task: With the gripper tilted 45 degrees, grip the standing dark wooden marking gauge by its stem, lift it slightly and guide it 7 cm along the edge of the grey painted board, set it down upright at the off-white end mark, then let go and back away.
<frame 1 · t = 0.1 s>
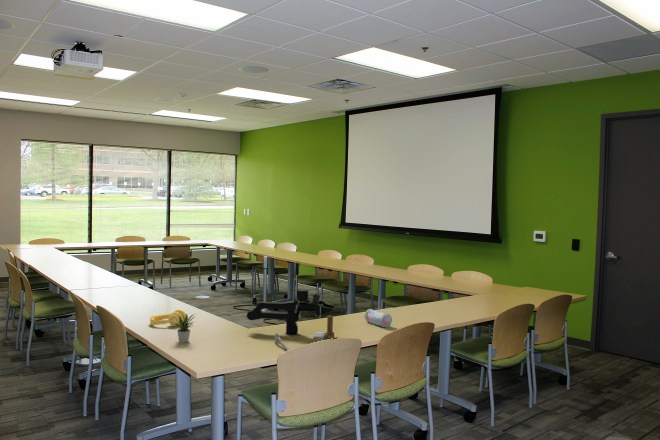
hand: (333, 308, 313), 17 cm above the table, tool horizontal, fingers open, 9 cm apart
headset: (167, 324, 333), on the table
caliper: (282, 348, 284), on the table
house plant: (186, 341, 293), on the table
board: (319, 336, 310), on the table
marking gauge: (329, 338, 307), on the table
pencil case: (378, 325, 344), on the table
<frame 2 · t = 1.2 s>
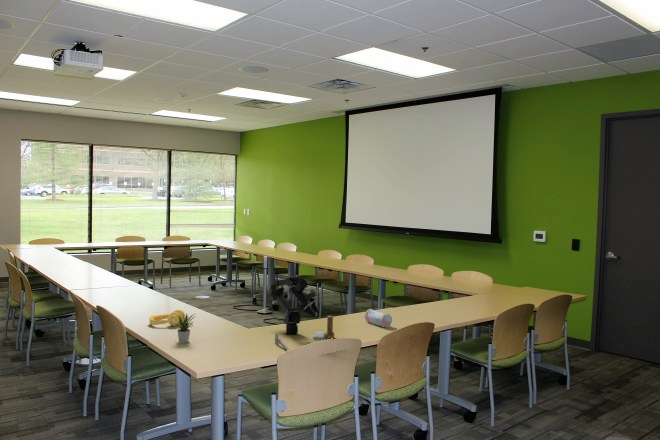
hand: (317, 314, 308), 14 cm above the table, tool tilted 45°, fingers open, 9 cm apart
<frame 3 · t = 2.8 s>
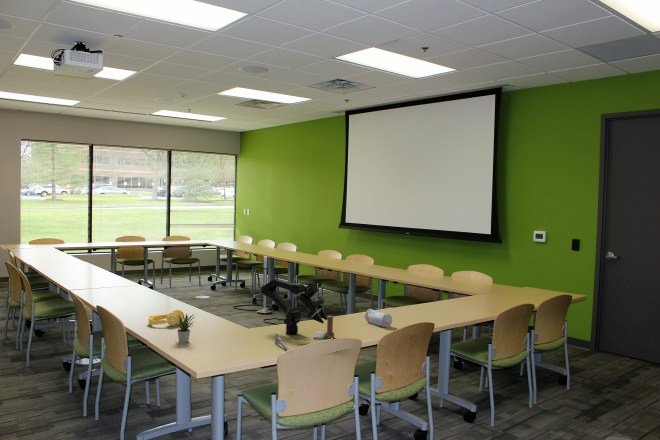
hand: (325, 321, 307), 10 cm above the table, tool tilted 45°, fingers open, 9 cm apart
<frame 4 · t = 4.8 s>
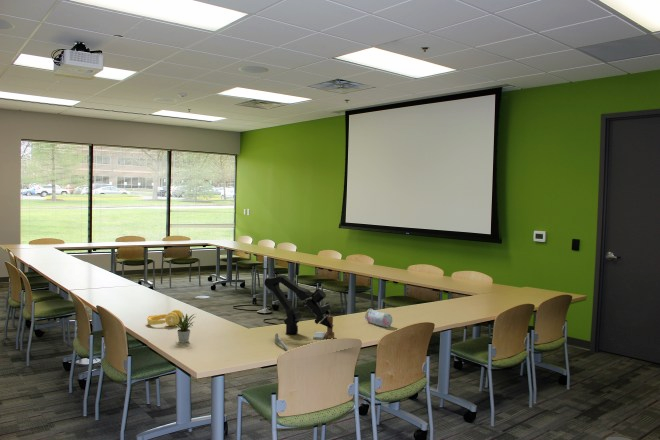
hand: (332, 327, 306), 7 cm above the table, tool tilted 45°, fingers closed on marking gauge, 3 cm apart
marking gauge: (329, 338, 307), on the table, touching gripper
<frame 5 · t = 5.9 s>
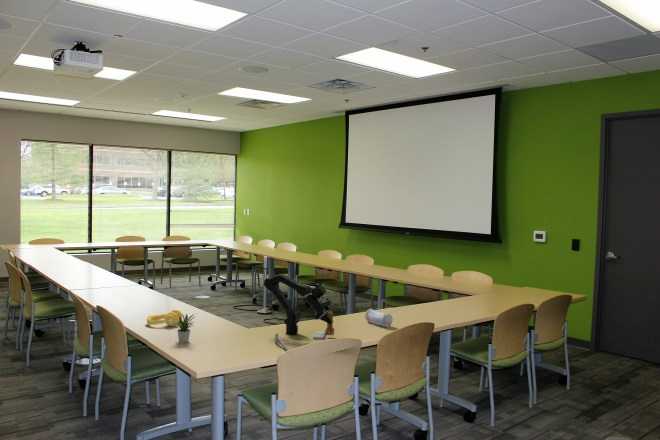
hand: (332, 323, 306), 9 cm above the table, tool tilted 45°, fingers closed on marking gauge, 3 cm apart
marking gauge: (329, 334, 307), point 2 cm above the table, touching gripper
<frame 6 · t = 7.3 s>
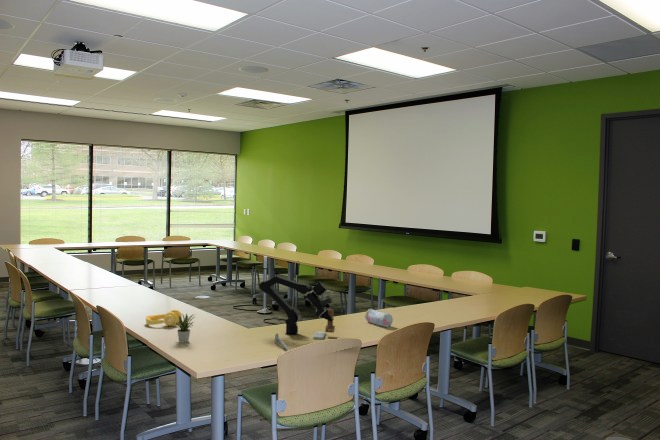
hand: (332, 320, 310), 10 cm above the table, tool tilted 45°, fingers closed on marking gauge, 3 cm apart
marking gauge: (330, 331, 310), point 3 cm above the table, touching gripper
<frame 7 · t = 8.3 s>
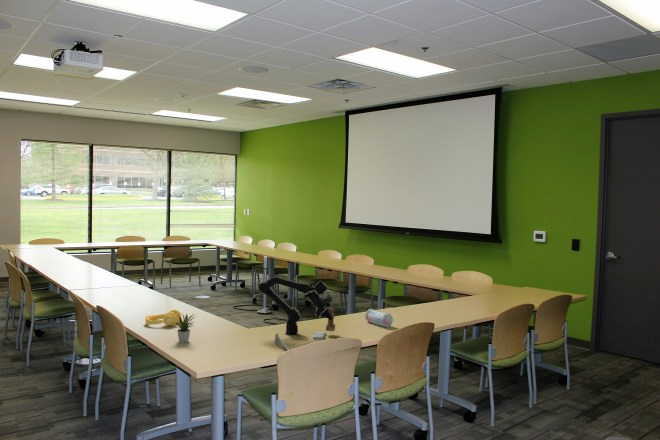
hand: (333, 319, 313), 10 cm above the table, tool tilted 45°, fingers closed on marking gauge, 3 cm apart
marking gauge: (330, 329, 314), point 3 cm above the table, touching gripper
when the fingers open (7 cm above the table, at t = 10.3 s): marking gauge stays where it is, on the table.
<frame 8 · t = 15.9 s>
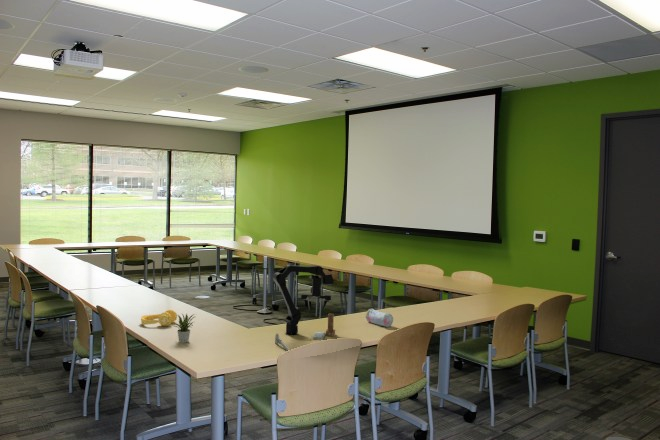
hand: (316, 310, 322), 13 cm above the table, tool pointing down, fingers open, 9 cm apart
headset: (158, 324, 333), on the table
marking gauge: (330, 335, 314), on the table
at the end: marking gauge 0.5 cm from the target spot, on the table; marking gauge tilted 0°; the gripper is holding nothing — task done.
